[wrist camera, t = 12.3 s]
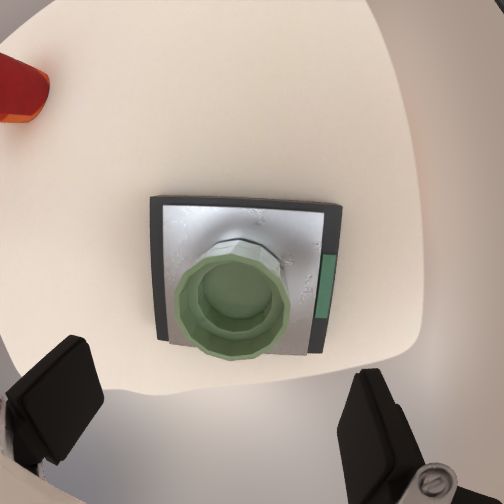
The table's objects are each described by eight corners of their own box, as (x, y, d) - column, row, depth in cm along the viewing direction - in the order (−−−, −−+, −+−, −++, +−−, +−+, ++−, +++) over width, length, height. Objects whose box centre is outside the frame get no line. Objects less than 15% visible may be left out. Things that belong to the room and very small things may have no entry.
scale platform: (323, 211, 19) (324, 212, 19) (306, 351, 22) (306, 355, 21) (165, 204, 20) (162, 204, 19) (171, 340, 22) (169, 343, 22)
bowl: (290, 241, 19) (295, 257, 15) (281, 332, 21) (283, 364, 17) (191, 235, 20) (171, 249, 15) (193, 324, 21) (177, 354, 17)
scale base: (336, 203, 21) (343, 206, 19) (319, 341, 24) (323, 355, 22) (159, 195, 22) (147, 197, 20) (164, 329, 25) (155, 341, 23)
